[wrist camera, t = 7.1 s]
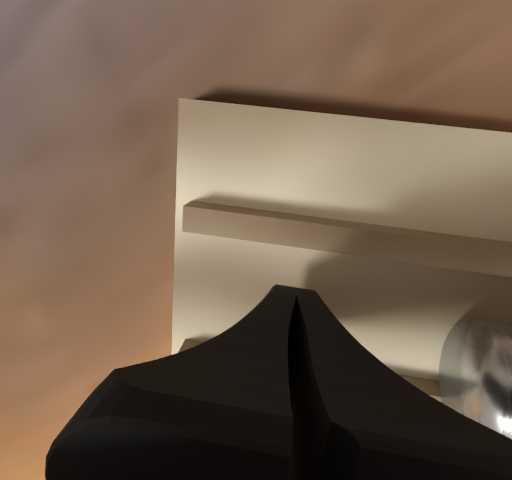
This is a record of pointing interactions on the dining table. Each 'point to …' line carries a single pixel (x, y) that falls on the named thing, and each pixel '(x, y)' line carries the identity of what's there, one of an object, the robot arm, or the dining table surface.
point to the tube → (479, 373)
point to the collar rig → (342, 226)
